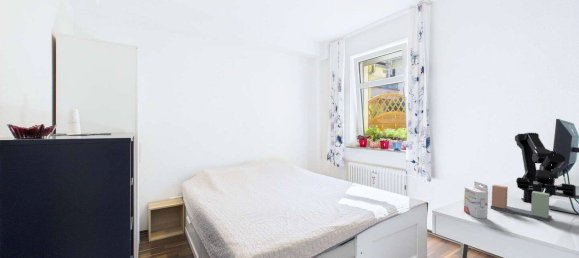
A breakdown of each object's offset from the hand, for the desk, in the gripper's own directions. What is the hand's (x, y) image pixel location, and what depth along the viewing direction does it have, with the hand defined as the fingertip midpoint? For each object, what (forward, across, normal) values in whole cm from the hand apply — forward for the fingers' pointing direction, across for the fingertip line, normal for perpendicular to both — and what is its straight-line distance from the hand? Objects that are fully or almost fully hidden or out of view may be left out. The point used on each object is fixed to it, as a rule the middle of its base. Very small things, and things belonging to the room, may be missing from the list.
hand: (541, 201), depth 109 cm
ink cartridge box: (+20, -18, -10) cm, 29 cm away
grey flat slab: (+5, -7, +5) cm, 10 cm away
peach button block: (+5, -14, +3) cm, 15 cm away
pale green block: (+6, 0, +2) cm, 6 cm away
